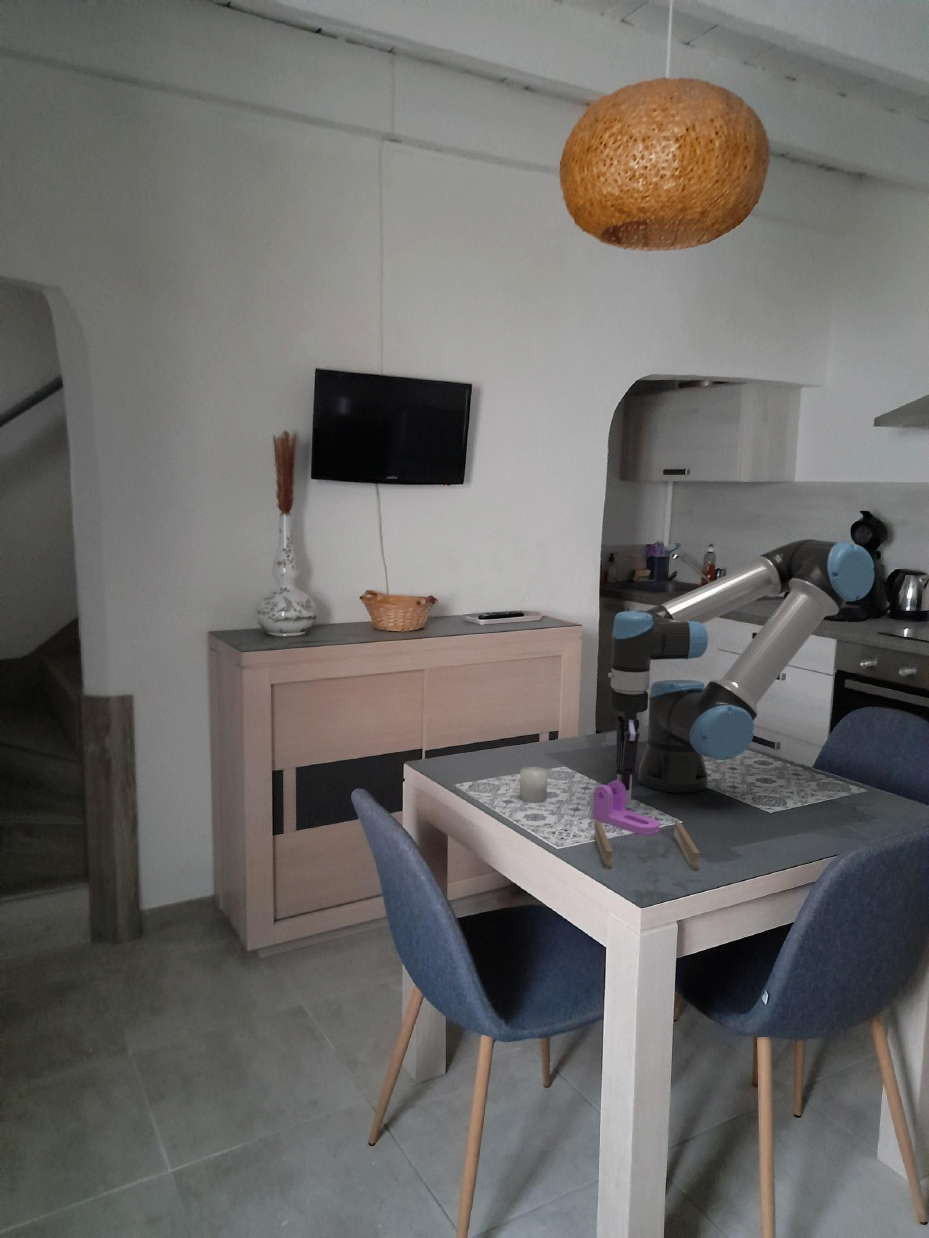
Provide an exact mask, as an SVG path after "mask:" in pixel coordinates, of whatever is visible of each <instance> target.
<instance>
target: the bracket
mask: <svg viewBox="0 0 929 1238" xmlns="http://www.w3.org/2000/svg"><path fill="white" fill-rule="evenodd" d="M592 801H593V802H592V803H593V804H592V818H593V819H594V820H596V821H600V822H603V823H605V824H609V825H611V826H614V827H618V828H619V829H620V828H621V829H623V830H626V831H629V832H631V833H634V834H637V835H643V836H650V835H651V836H652V835H657V834H658V833H660V822H659V821H658V820H657V819H655V818H652V817H649V816H645V815H643V814H639V813H637V812H633V811H630V810H628V809H627V808H626V805H625V801H626V788H625V786H624V784H623V783H622V782H621V781H619V780H617V779H615V780H612V781H609V783H608V784H601V785H599V786H596V787H595V788H594V790H593V800H592Z"/></svg>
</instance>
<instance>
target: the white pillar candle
mask: <svg viewBox="0 0 929 1238" xmlns="http://www.w3.org/2000/svg"><path fill="white" fill-rule="evenodd" d="M519 775H520V778H519V800H521V801H523V802H525V803H530V804H531V803H532V804H539V803H540V804H541V803H544V802H546V801H547V798H548V797H547V796H548V794H547V793H548V770H547V769H546V768H543V767H541V766H524V767H523V768H521V769H520V774H519Z"/></svg>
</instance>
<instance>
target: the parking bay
mask: <svg viewBox="0 0 929 1238" xmlns="http://www.w3.org/2000/svg"><path fill="white" fill-rule="evenodd" d="M673 831H674V833H673V838H674V840H675V842H676V843H677V845H678V847H679V849H680V851H682V854H683V855H684V857H685V858H686V860H687V862H688V863H689V865H690V867H691V869H692V870H700V857H701V855H700V854H701V852H700V851H699V849H698V848H697V847H696V845H695V843H694V842H693V840H692V838H691V837H690V835H689V834H688V832H687V831H686V829H685V827H684V826H683V824H682V823H681V822H680V821H677V822H674V830H673ZM593 833H594V835H593V836H594V837H593V838H594V839H595V842H596V845H597V848H598V850H599V853H600V856H601V859H602V861H603V864H604V866H605V869H612V867H613V850H612V847H611V845H610V841H609V839H608V837H607V834H606V832H605V829H604V827H603V824H602V821H600V820H594V832H593Z"/></svg>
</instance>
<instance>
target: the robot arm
mask: <svg viewBox="0 0 929 1238" xmlns="http://www.w3.org/2000/svg"><path fill="white" fill-rule="evenodd" d="M874 569H875V564H874V561H873V559H872V556H871V554H870V553H869V552H868V551H867V550H866V548H864V547H863V546H861V545H860V544H859V545H858V544H855V543H850V542H847V541H838V542H837V541H830V540H829V541H828V540H819V539H811V538H808V539H799V540H795V541H793V542H788V543H786V544H784V545H782V546H779V547H777V548H774V549H772V550H770V551H767V552H765V553H763V554H760V555H758V556H756V557H754V558H753V560H752V562H751V564H749V565H746V566H745V567H743V568H741V569H740V568H739V569H738V570H736V571H734V572H731V573H729V574H727V575H724V576H722V577H720V578H717V579H716V580H713V581H711V582H708V583H707V584H704V585H702V586H700V587H698V588H696V589H694V590H693V589H692V590H691V591H689V592H686V593H684V594H682V595H680V596H678V597H675V598H673V599H670V600H669V601H666V602H664V603H662V604H660V605H656V606H654V607H652V608H650V609H647V610H641V609H640V610H632V611H630V610H629V611H621V612H618V613H617V614H616V615H615V616H614V620H613V628H612V634H611V637H612V644H611V645H612V646H611V647H612V648H611V649H612V650H611V672H608V674H607V677H608V678H610V687H611V688H612V689H611V690H610V691H609V704H608V705H609V708H610V709H611V710H613V711H616V712H619V713H618V714H619V715H617V716H615V723H616V743H615V744H616V749H615V750H616V751H615V753H616V754H615V755H616V756H615V757H616V759H615V764H616V765H617V766H616V769H617V770H616V769H615V774H616V775H617V777H616V780H619V781H621V782H622V783H623V784H624V786H625V788H626V801H625V806H631V800H632V783H633V775H635V773H636V763H637V752H638V743H639V739H640V732H639V731H638V730H639V729H640V719H638V718H637V714H638V713H639V714H640V713H644V712H645V711H647V710H648V725H647V727H648V729H647V746H646V749H645V751H644V754H643V756H642V759H641V761H640V764H639V767H638V770H637V771H638V772H637V780H638V782H639V783H640V784H642V785H643V786H645V787H647V788H650V789H653V790H656V791H661V792H669V793H675V794H676V793H679V794H681V793H682V794H686V793H695V792H699V791H703V790H705V789H706V788H707V786H708V780H709V779H708V776H709V775H708V772H707V771H708V770H707V769H706V763H705V760H704V757H707V758H711V759H713V760H718V761H725V760H731V759H734V758H736V757H738V756H740V755H741V754H742V753H744V752H745V751H746V749H748V747H749V746H750V744H751V743H752V741H753V738H754V735H755V734H754V732H753V731H754V730H755V725H754V724H755V723H754V720H755V719H756V718H757V716H758V707H757V704H758V703H759V702H760V700H761V699H762V698H763V696H765V694H766V692H768V690H770V687H771V686H772V685H773V684H774V682H775V681H776V680H777V679H778V678H779V676H780V675H781V673H782V672H783V671H784V670H785V668H786V667H787V666H788V664H789V663H790V662H791V661H792V659H793V658H794V657H795V655H796V654H797V653H798V652H799V650H801V648H802V647H803V646H804V644H805V643H806V642H807V640H808V639H809V638H810V636H811V635H812V634H813V632H815V630H816V629H817V628H818V627H819V625H820V624H821V622H822V621H823V620H824V619H825V617H828V616H836V615H837V614H838V613H839V612H840V611H841V609H842V608H843V607H844V606H845V604H846V603H847V602H856V601H857V600H858V601H859V600H861V599H863V598H864V597H866V596H867V594H868V593H869V592H870V591H871V589H872V587H873V584H874V582H875V581H874V580H875V576H876V575H875V571H874ZM784 593H788V594H787V595H786V597H785V598H784V600H783V601H782V602H781V603H780V604H779V605H778V606H777V608H776V609H775V610H774V612H773V613H772V615H770V617H769V618H768V619H767V621H766V622H765V623H764V625H763V626H762V627H761V628H760V629H759V631H758V632H757V634H756V635H755V636H754V637H753V639H752V640H751V641H750V643H749V644H748V645H747V646H746V647H745V648H744V650H743V651H742V653H741V654H740V655H739V656H738V657H737V658H736V660H735V661H734V662H733V664H732V665H731V666H730V668H729V669H728V670H727V671H726V673H725V674H724V675H723V677H722V678H720V679H712V680H710V681H709V682H708V684H706V686H705V683H704V682H703V681H699V680H692V679H691V680H690V679H689V680H688V679H669V680H668V679H667V680H659V681H655V682H653V683H652V684H651V686H650V678H651V676H650V675H651V661H657V660H658V661H659V660H691V659H698V658H701V657H702V656H704V654H705V653H706V652H707V649H708V647H709V646H708V643H709V642H708V641H709V637H708V632H707V629H706V627H705V626H704V624H705V623H707V622H709V621H711V620H714V619H716V618H719V617H720V616H722V615H725V614H728V613H730V612H732V611H734V610H736V609H739V608H740V607H742V606H745V605H748V604H750V603H752V602H754V601H756V600H758V599H761V598H763V597H765V596H767V597H770V598H774V597H777V596H778V595H781V594H784ZM648 690H650V691H649V692H648ZM648 708H649V709H648Z"/></svg>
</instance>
